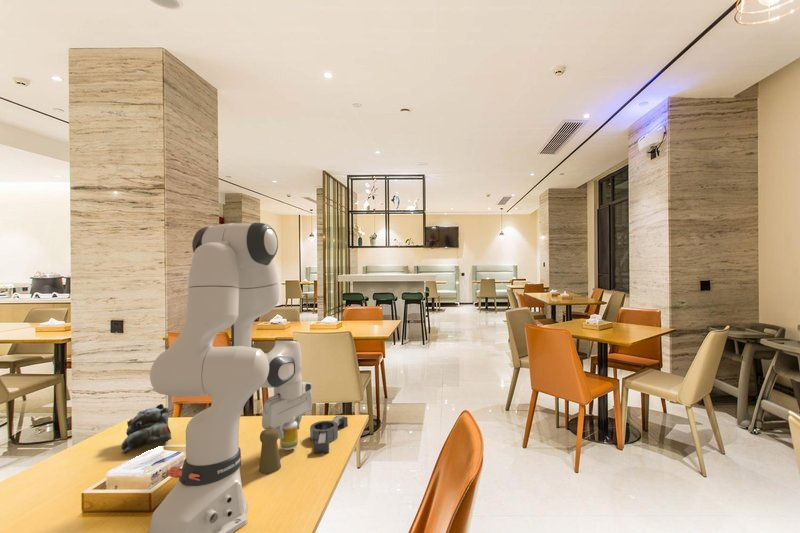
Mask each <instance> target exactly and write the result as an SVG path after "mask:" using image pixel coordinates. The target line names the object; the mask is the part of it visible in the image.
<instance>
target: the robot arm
mask: <svg viewBox="0 0 800 533" xmlns="http://www.w3.org/2000/svg"><path fill="white" fill-rule="evenodd" d="M271 226H272V225H269V224H268V223H264V222H252V223H249V222H247V223H246V222H245V223H244V222H242V223H240V222H239V223H238V222H237V223H235V222H231V223H230V222H229V223H224V224H223V223H222V224H218V225H208V226H205V227H202V228H200V229H198V230H197V231H196V233H195V235H194V236H193V239H192V243H191V244H192V246H191V248H192V252H193V256H192V259H191V264H190V268H189V273H188V275H189V276H188V284H187V285H188V286H187V287H188V288H187V301H186V311H185V319H184V322H183V327H182V328H181V330H180V333H179V335H178V336H177V337H176V339H175V340H174V342H173V343H172V344H171V345H170V346H169V347H168V348H167V349H166V350H164V351H163V352H161V354H159V355H158V356H157V357H156V358H155V360H154V361H153V363H152V364H151V368H150V370H149V371H150V372H149V380H150V383H151V387H152V388H153V390H154V391H155V392H156V393H157V394H159V395H164V396H165V395H166V396H169V397H179V398H182V397H183V398H184V397H203V396H208V397H210V398H211V404H210V406H209V407H207V408H205V409H203V410H201V411H200V412H198V413H196V414H195V415H194V416H192V418H191V419H189V421H188V423H187V425H186V429H185V458H184V460H183V464H182V467H181V468H180V467H177V466H172V467H170V468H169V471H168V477H169V478H175V479H178V481H177V482H176V483H175V485H174V486H173V487H172V488H171V490H170V491H169V492H168V494H167V495H166V496H165V497H164V499H163V500H162V501H161V502H160V504H159V505H158V506H157V507H156V509H154V511H153V513H152V515H151V517H150V518H151V519H150V522H149V530H148V532H147V533H234V532H236V531H237V530H239V529H241V528H242V527H243V526H245V525H246V524H247V523H248V517H247V511H248V503H247V500H246V498H245V495H244V490H243V483H242V479H241V470H240V469H241V468H240V467H241V465H242V452H241V448H240V444H239V442H240V441H239V437H240V435H239V434H240V421H241V420H240V419H241V414H242V412H243V410H244V407H245V405H246V403H247V402H248V401H249V399H250V398H251V397H252V396H253V395H254V394H255V393H256V392H257V391H259V390H260V389H261V388H269V389H270V388H272V389H273V395H272V396H269V397H267V399H266V401H265V402H264V404H263V410H262V414H261V415H262V416H261V427H262V428H263V430H265V429H269V428H274V429H277V431H278V432H279V437H278V440H279V439H283V438H284V437H285V432H284V431H283V430H282V428H283V424H285V423H287V422H289V421H290V420H291V418H292V417H294V416H295V421H296V422H297V425H298V430H300V423H301V421H302V418H303V416H302V415H304V414H306V413H308V412H310V411H311V409H312V408H313V392H312V389H313V383H312V382H306V381H303V375H302V367H303V353H302V347H301V344H300V341H298V340H296V339H285V338H284V339H282V338H281V339H280V338H279V339H277V340H275V342H274V346H273V348H272V349H271V350H269V352H268V353H265V352H264V351H263V350H262V349H261V348H256V347H252V335H253V334H252V330H253V329H252V328H253V324H254V322H255V321H256V320H257V319H258V318H260V317H263V316H264V315H267V314H269V313H270V312H271V311H273V309H275V307H276V306H277V304H278V302H279V301H280V288H279V280H278V274H277V269H276V266H275V262H274V258H275V256H276V255H277V252H278V250H279V249H278V248H279V240H278V236H277V233H276V231H275V229H274V228H272V227H271ZM229 328H230V334H231V336H230V345H229V346H213V345H214V342H215V341H214V340H215V338H216V336H217V335H218V334H219V333H221V332H223V331H225V330H227V329H229Z"/></svg>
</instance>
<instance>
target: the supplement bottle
mask: <svg viewBox="0 0 800 533" xmlns="http://www.w3.org/2000/svg"><path fill="white" fill-rule="evenodd" d="M282 430H283V431H284V432H285V437H284V438H283V439H280V440H279V446H280V449H282V450H283V451H284V450H286V451H288V450H293V449H296V448H297V447H298V445H299V444H298V442H299V440H298V437H299V436H298V433H299V432H298V431H299V429H298V425H297V422H296V421H295V416H294V417H292V418H291V420H290V421H289V422H287V423H285V424H283V428H282Z"/></svg>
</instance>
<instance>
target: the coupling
mask: <svg viewBox="0 0 800 533" xmlns="http://www.w3.org/2000/svg"><path fill="white" fill-rule="evenodd" d="M348 423H349V422H348V417H347V416H345V415H343V414H342V415H341V414H338V415H336V416H335V417H333V418H332V419H331V420H320V421H317V422H314V423H312V424H310V426H309V427H310V428H309V434H310V435H309V436H310V441H311V442H312V443H313V444H314V445H313V447H314V448H313V449H314V451H313V452H314V454H313V455H319V454H330V453H329V452H330V443H332V442H334V441H336V440H338V436H339V435H338V434H339V429H338V428H342V429H345V428H346V427H347V426H348Z"/></svg>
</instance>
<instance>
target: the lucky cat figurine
mask: <svg viewBox="0 0 800 533" xmlns="http://www.w3.org/2000/svg"><path fill="white" fill-rule="evenodd" d="M169 415H170V409H169V407H168V406H167V407H166V406H164V404H162V403H161V404H158V405H156V407H155V406H154V407H149V408H146V409H143V410H140V411H138V412H137V414H136V415H135V416H134V417H132V418H130V419H129V420H127V421H126V422H127V424H126V425H127V426H128V427H127V429H126V432H125V433H126V436H127V437H125V438H124V440H123V441H122V443H121V445H120V446H121V450H122V452H121V454H127V453H129V452H132V451H135V450H137V449H140V448H143V447H146V446H151V445H154V444H159V443H165V442H166V441H167V442H169V441H170V440H172V432H171V429H170V427H169Z"/></svg>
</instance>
